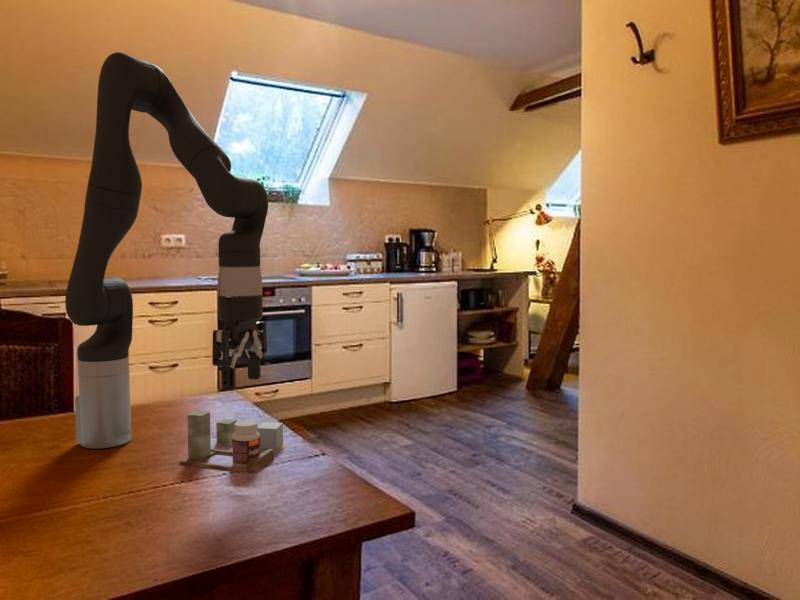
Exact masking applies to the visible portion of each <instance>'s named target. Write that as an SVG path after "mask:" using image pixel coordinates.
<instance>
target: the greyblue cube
mask: <svg viewBox="0 0 800 600" xmlns="http://www.w3.org/2000/svg"><path fill="white" fill-rule="evenodd" d="M257 432H258V433H259V434H260V450H261V449H262V450H267V449H278V448H279V447H280V445H281V444H284V422H266V421H263V422H261V424H258V430H257Z"/></svg>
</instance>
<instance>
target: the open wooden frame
mask: <svg viewBox="0 0 800 600" xmlns="http://www.w3.org/2000/svg"><path fill="white" fill-rule="evenodd" d="M186 418H187V419H186V420H187V458H185V459H180V461H179V465H183V466H192V467H201V468H208V469H214V470H223V471H224V470H227V471H232V472H233V471H235V472H240V473H251V474H254V473H255V472H256V471H258V470H260V469H261V468H262V467H264V466H265V465H267V464H268V463H270V462H271V461H272V460H273V459H275V458H274V457H275V456H274V454H275V453H274V451H275V450H274V449H265V450H264V451H262V452H260V455H258V456H257V457H255V458H254V459H252V460H251V461H249V462H248V468H245V467H236V466H233V465H228V464H227V465H225V464H219V463H211V462H210V463H209V462H204V461H206V460H208V459H209V458H211V457H213V456H214V455H216V454H220V455H226V456H233V450H226V449H225V450H224V449H217V448H215V449H214V448H211V447H212V446H211V411H205V410H204V411H202V410H195V411H192V412H191V413H188V414H187V417H186Z"/></svg>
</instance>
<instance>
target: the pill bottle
mask: <svg viewBox="0 0 800 600" xmlns="http://www.w3.org/2000/svg"><path fill="white" fill-rule="evenodd" d="M258 426H259V424H258V421H256V420H251V419H248V420H247V419H244V420H239V421H237V422H236V423H235V424H234V432H235V433H234V434H233V437H232V445H231V446H232V451H233V455H232V466H236V467H245V468H248V462H249V461H251V460H252V459H254V458H255V457H257V456H258V455H260V454H261V449H260V434H259V433H258V432H257V430H258Z"/></svg>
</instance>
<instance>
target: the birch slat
mask: <svg viewBox="0 0 800 600" xmlns="http://www.w3.org/2000/svg"><path fill="white" fill-rule="evenodd" d="M236 422H238V421H237V419H229V418H228V419H227V418H223V419H221V420H219V421H217V422H216V427H215V429H216V441H215V442H214V444H218V445H227V446H228V445H229V446H233V445H232V437H233V434H234V433H235V432H234V424H235V423H236ZM288 446H290V444H288V443H287V444H286V443H282V444H281V445H280V447H279V448H278V449H274V451H282V450H283V449H284V448H287V447H288Z"/></svg>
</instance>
